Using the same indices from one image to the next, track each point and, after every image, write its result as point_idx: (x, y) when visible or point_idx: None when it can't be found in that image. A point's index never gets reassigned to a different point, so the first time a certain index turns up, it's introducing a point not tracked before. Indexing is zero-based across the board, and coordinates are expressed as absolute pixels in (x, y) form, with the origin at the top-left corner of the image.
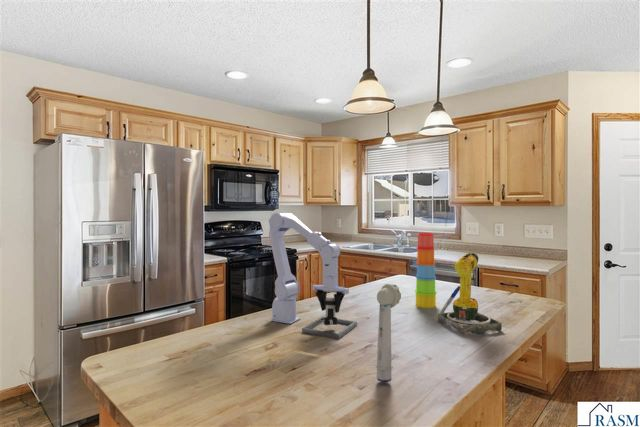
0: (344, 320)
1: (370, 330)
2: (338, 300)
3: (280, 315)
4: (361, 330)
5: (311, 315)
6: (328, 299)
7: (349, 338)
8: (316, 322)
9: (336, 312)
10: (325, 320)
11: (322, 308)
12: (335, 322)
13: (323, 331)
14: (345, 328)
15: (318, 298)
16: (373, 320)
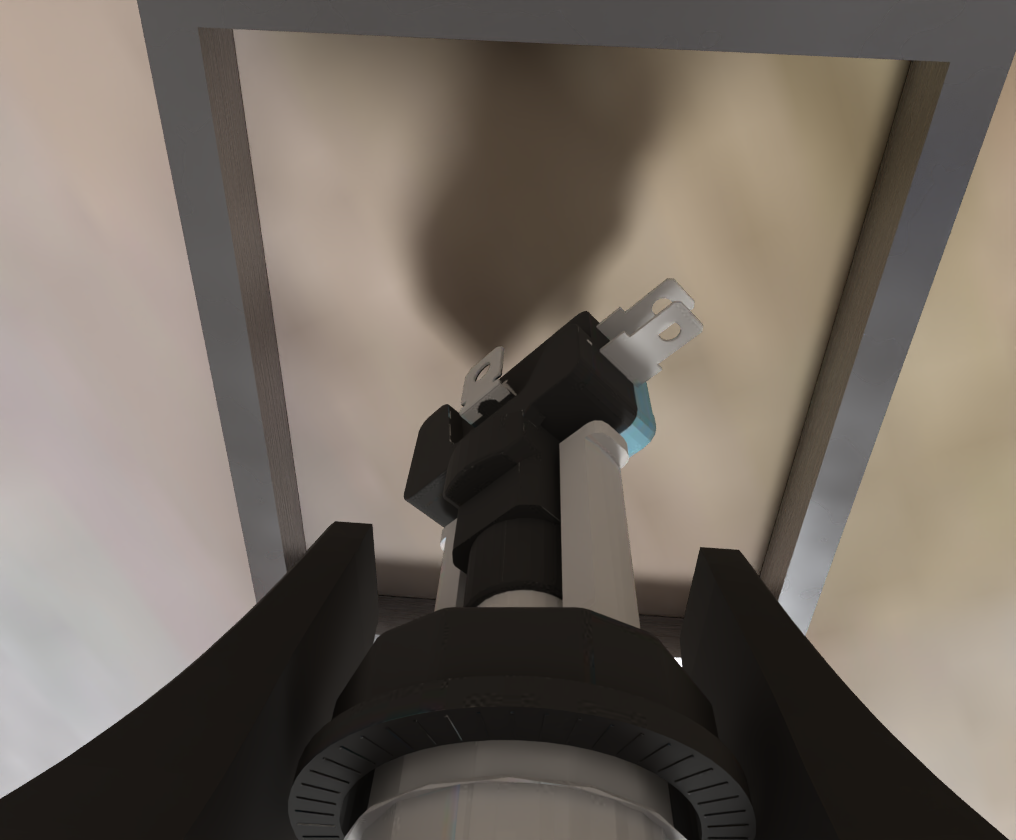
0: None
1: (44, 515)
2: (52, 767)
3: None
4: (132, 479)
5: (977, 742)
6: (523, 811)
7: (53, 91)
8: (815, 463)
9: (340, 523)
10: (578, 340)
11: (726, 578)
12: (431, 432)
13: (505, 18)
14: (235, 349)
15: (973, 824)
16: None
